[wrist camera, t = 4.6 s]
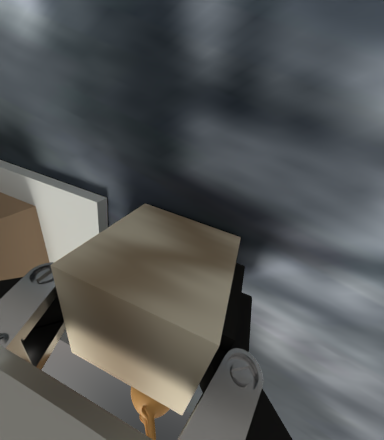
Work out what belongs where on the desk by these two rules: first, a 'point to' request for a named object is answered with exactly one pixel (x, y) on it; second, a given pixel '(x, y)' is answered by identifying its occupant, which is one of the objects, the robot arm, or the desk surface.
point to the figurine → (147, 410)
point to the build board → (43, 219)
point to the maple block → (149, 301)
